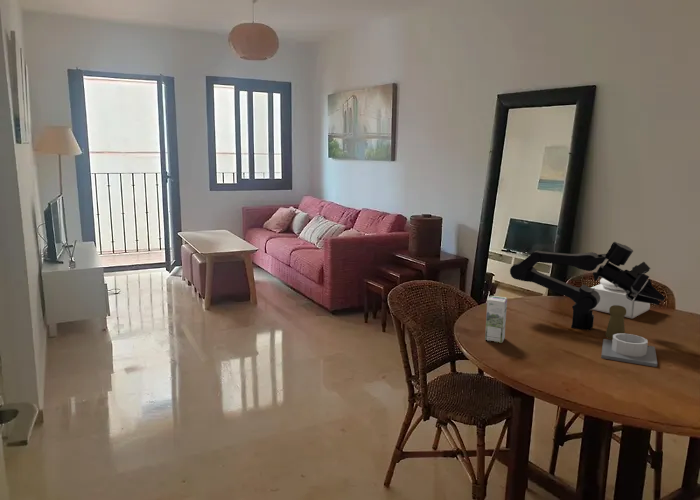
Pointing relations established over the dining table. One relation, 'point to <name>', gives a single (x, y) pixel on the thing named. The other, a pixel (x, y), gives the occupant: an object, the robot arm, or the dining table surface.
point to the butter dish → (617, 300)
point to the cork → (616, 321)
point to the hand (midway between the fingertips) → (661, 301)
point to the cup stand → (629, 349)
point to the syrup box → (496, 319)
